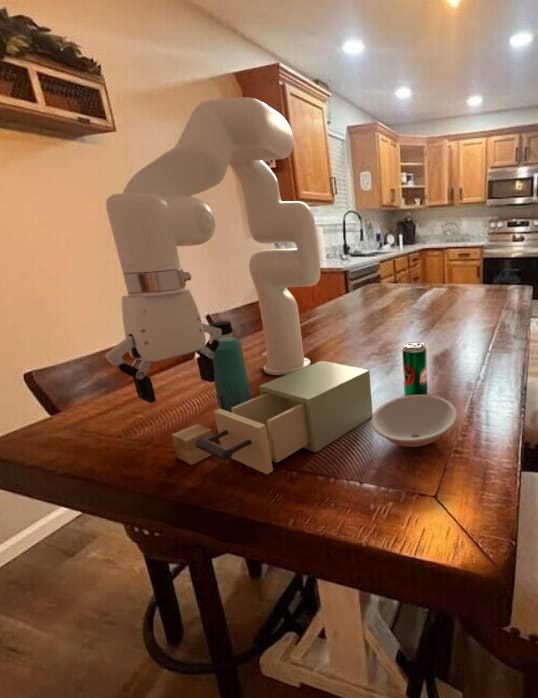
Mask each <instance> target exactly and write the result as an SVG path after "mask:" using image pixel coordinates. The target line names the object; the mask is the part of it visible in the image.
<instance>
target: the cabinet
mask: <svg viewBox="0 0 538 698" xmlns="http://www.w3.org/2000/svg"><path fill="white" fill-rule="evenodd" d="M258 389H259V394H260V395H263V394H265V393H271V394H274V395H278V396H281V397H285V398H288V399H291V400H295V401H298V402H302V403H305V404H306V410H307V418H308V426H309V433H310V441H311V443H309V444H307V445H306V446H304V447H302V448H301V449H305V450H308V451H311V452H313V453H317V452H318V451H320V450H322V449H323V448H325V447H327V446H328V445H329V444H331V443H333V442H335V441H336V440H337V439H339V438H340V437H342V436H344V435H346V434H347V433H349V432H351V430H353V429H355V428H356V427H358V426H359V425H361V424H363V423H364V422H366V421H367V420H369V419H370V418H372V417H373V414H374V413H373V403H372V402H373V401H372V390H371V389H372V388H371V376H370V369H364V368H362V367H361V368H360V367H355V366H350V365H346V364H341V363H335V362H329V361H326V360H325V361H324V360H320V361H317V362H316V363H312V364H311V365H310V366H307V367H305V368H302V369H300V370H297V371H295V372H292V373H290V374H287V375H281V376H280V377H277V378H275V379H272V380H270V381H267V382H265V383H263V384H260V385H258ZM260 395H259V396H260Z"/></svg>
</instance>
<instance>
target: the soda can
mask: <svg viewBox="0 0 538 698" xmlns="http://www.w3.org/2000/svg"><path fill="white" fill-rule="evenodd" d="M401 351H402V370H403V393H404V394H403V395H404V396H409V395H428V363H427V361H428V360H427V348H426V346H425V343H423V342H419V341H411V342H406V343H404V344H403V348H402V350H401Z"/></svg>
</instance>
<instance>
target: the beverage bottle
mask: <svg viewBox="0 0 538 698" xmlns="http://www.w3.org/2000/svg"><path fill="white" fill-rule="evenodd" d="M208 325H209V326H213V327H216V328H220V329H221V330H222V334H221V336H224V337H220V340H219V346H218V348H217V350H216V351H215V356H214V358H212V360H213V365H214V370H215V375H214V378H215V381H214V382H213V383H214V388H215V391H216V392H215V393H216V394H215V395H216V399H217V403H218V407H219V408H218V409H222V410H225V411H228V412H231V413H232V410H231V408H232V407H234V406H237V405H239V404H241V403H244V402H246V401H249V400H251V399H253V394H252V390H251V385H250V381H249V376H248V371H247V369H246V363H245V358H244V352H243V348H242V342H241V341H240V340H239V339H238V338H236V337H234V336H225V335H230V334H232V333H233V332H234V329H233V327H232V323H231V322H230V321H228V320H220V321H214V322H211V323H209V324H208Z"/></svg>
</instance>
